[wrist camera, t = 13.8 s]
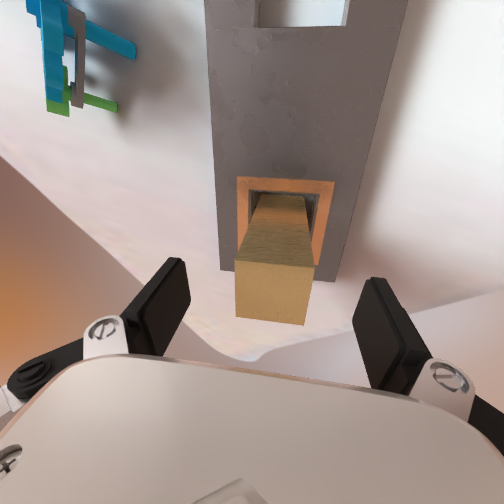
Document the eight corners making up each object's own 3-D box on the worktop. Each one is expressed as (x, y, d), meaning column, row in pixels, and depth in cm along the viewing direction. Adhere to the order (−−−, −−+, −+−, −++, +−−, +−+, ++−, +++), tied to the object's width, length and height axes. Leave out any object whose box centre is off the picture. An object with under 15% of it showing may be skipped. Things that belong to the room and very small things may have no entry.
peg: (261, 193, 22) (234, 260, 11) (303, 196, 21) (315, 268, 11) (259, 231, 24) (235, 316, 13) (298, 234, 23) (303, 325, 13)
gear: (14, -142, 13) (9, -138, 8) (131, -54, 17) (169, -19, 12) (34, 75, 19) (37, 141, 15) (113, 101, 23) (134, 160, 19)
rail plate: (204, -184, 12) (188, -240, 10) (451, -218, 11) (485, -291, 9) (225, 260, 26) (219, 271, 24) (331, 271, 25) (334, 283, 23)
